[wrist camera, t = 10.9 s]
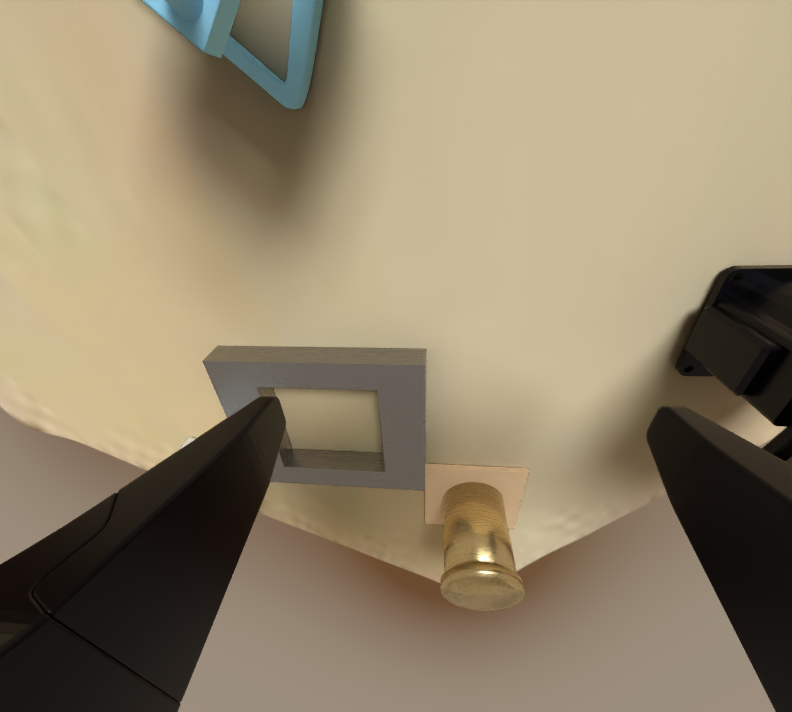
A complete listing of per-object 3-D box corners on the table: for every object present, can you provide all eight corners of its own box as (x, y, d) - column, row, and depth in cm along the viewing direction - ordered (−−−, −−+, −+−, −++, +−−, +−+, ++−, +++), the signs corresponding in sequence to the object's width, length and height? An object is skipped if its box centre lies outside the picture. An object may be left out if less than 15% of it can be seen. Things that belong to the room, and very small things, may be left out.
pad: (527, 468, 27) (529, 472, 26) (513, 525, 31) (514, 529, 31) (425, 463, 28) (425, 467, 27) (425, 519, 32) (425, 523, 32)
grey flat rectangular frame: (426, 348, 22) (425, 365, 20) (425, 471, 28) (425, 490, 27) (217, 345, 23) (202, 361, 22) (263, 463, 30) (254, 480, 28)
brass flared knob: (511, 481, 27) (531, 577, 22) (502, 521, 30) (518, 614, 25) (440, 478, 28) (441, 570, 22) (438, 517, 31) (439, 606, 25)
